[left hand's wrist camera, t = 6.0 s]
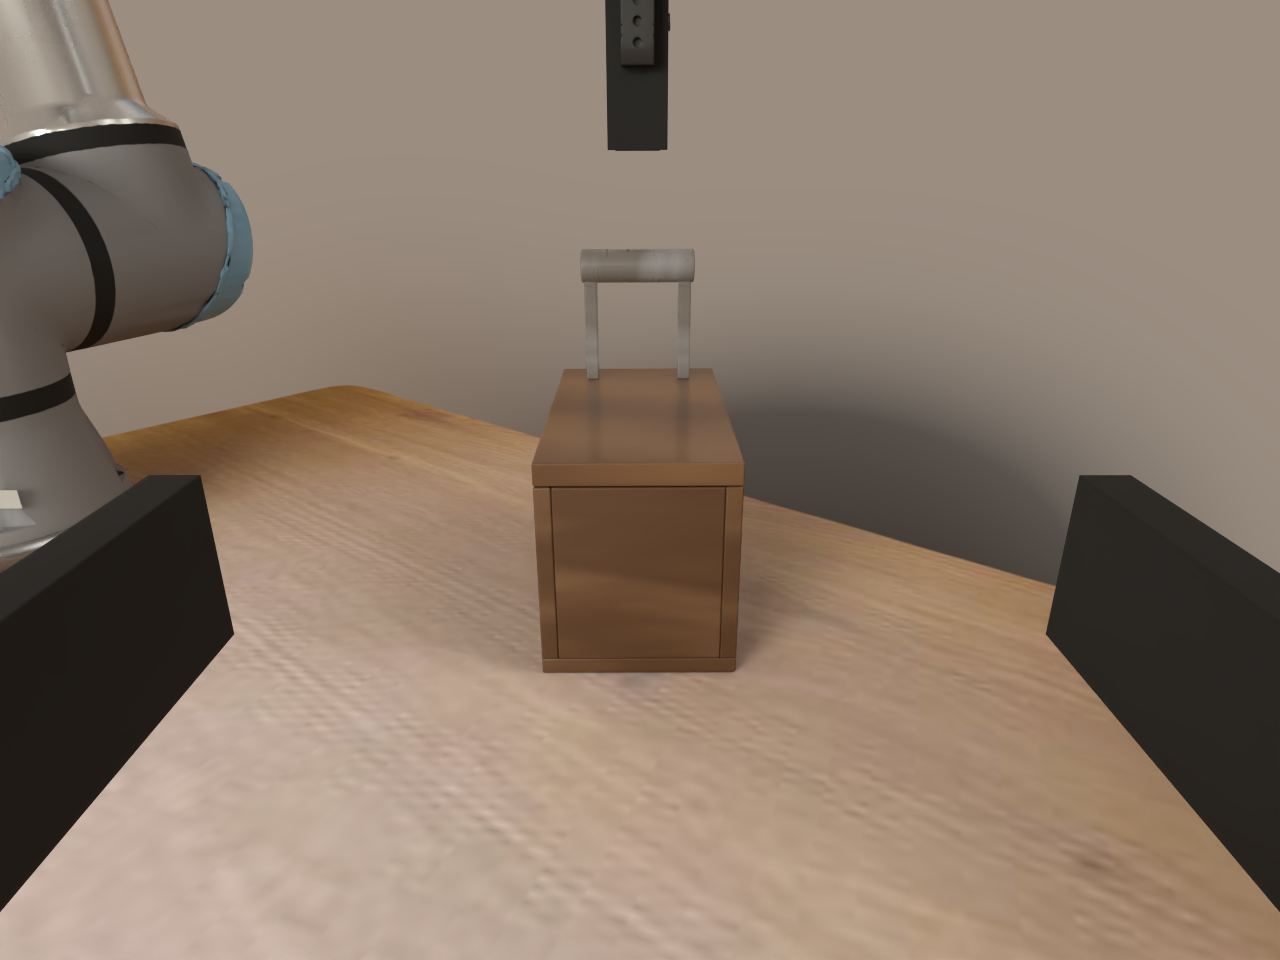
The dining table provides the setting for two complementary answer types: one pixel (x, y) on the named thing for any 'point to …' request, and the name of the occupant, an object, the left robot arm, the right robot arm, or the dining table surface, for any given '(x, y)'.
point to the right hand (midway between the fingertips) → (637, 151)
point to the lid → (638, 400)
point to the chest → (638, 577)
